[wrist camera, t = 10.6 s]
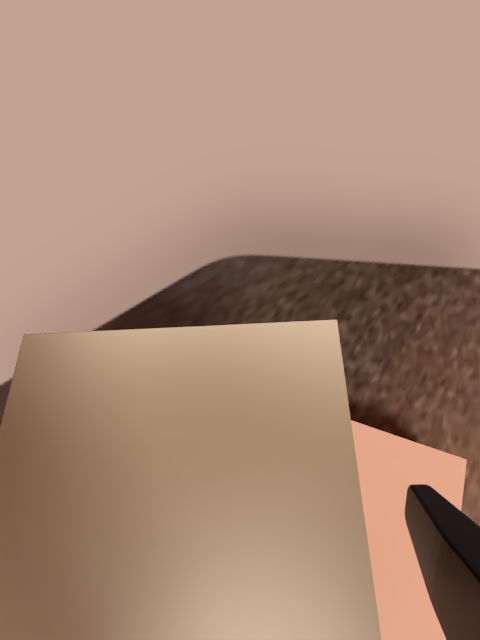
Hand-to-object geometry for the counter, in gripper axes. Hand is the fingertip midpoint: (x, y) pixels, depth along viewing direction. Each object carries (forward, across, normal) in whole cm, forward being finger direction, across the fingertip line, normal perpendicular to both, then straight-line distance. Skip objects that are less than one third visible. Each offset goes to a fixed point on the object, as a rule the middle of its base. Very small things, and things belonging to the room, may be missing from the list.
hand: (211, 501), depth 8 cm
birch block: (+6, 0, +6) cm, 8 cm away
